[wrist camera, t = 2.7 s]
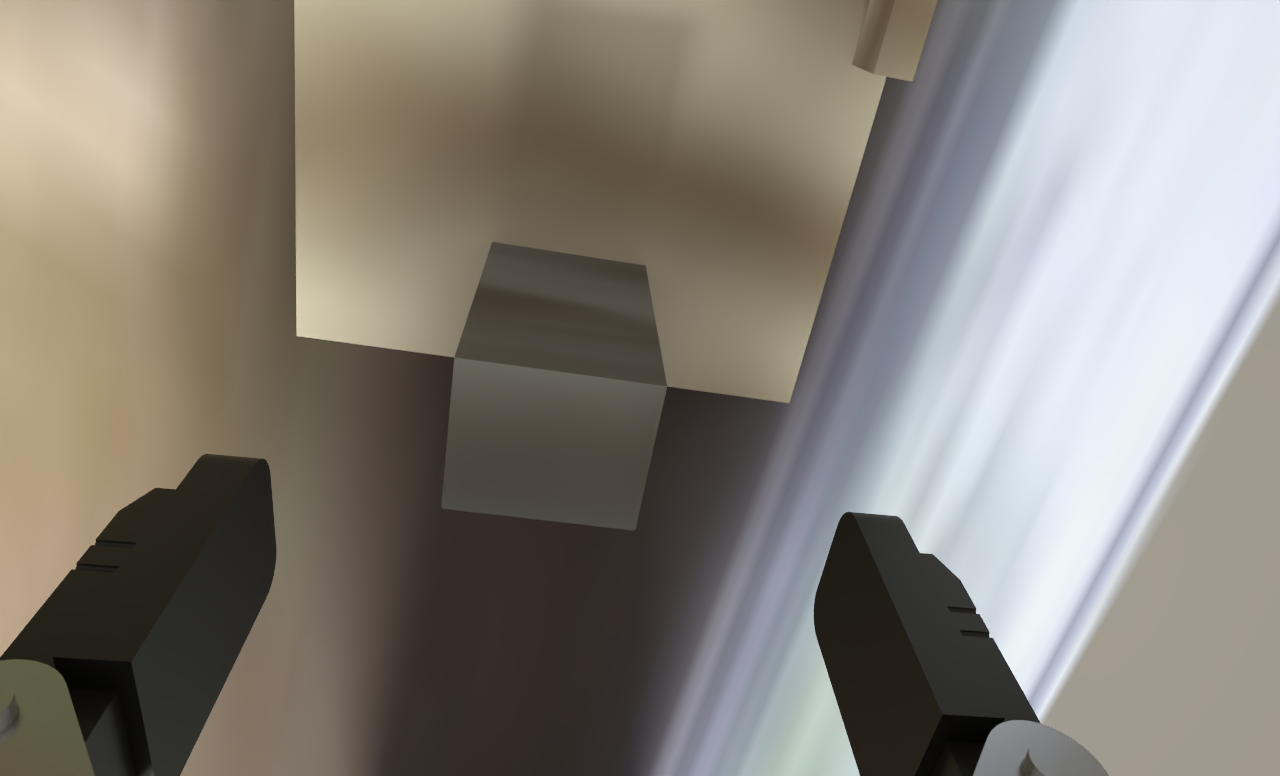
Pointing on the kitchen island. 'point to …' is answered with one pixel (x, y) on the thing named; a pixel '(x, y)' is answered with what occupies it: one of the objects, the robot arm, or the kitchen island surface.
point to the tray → (581, 211)
